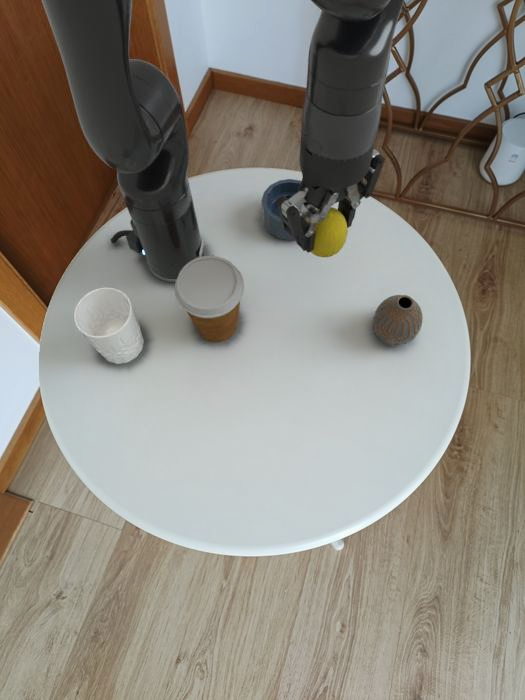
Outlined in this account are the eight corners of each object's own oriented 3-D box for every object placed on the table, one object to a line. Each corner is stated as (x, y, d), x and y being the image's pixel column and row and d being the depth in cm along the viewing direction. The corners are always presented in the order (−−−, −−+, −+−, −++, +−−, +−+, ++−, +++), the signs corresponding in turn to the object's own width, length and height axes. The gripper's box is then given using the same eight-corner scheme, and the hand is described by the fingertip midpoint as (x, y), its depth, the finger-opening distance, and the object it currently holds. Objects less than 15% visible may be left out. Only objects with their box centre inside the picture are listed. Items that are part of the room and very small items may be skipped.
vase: (423, 325, 82) (439, 295, 74) (403, 360, 79) (417, 332, 71) (382, 304, 83) (393, 273, 76) (362, 338, 81) (371, 309, 73)
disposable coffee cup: (174, 319, 83) (159, 276, 73) (224, 287, 86) (216, 241, 75) (209, 363, 80) (199, 325, 69) (260, 328, 82) (257, 286, 71)
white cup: (158, 342, 82) (143, 310, 73) (119, 377, 79) (98, 348, 70) (124, 312, 84) (106, 277, 75) (85, 345, 82) (61, 313, 73)
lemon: (340, 272, 70) (347, 233, 63) (298, 264, 71) (301, 226, 63) (346, 238, 72) (354, 198, 65) (306, 231, 73) (309, 190, 66)
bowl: (252, 226, 91) (251, 206, 86) (282, 192, 94) (282, 171, 89) (296, 250, 88) (297, 231, 84) (325, 214, 92) (328, 194, 87)
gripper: (369, 78, 56) (348, 191, 71) (258, 139, 53) (262, 243, 68) (418, 119, 53) (386, 227, 69) (305, 185, 50) (298, 283, 65)
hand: (324, 235), depth 68 cm, fingers closed on lemon, 5 cm apart
